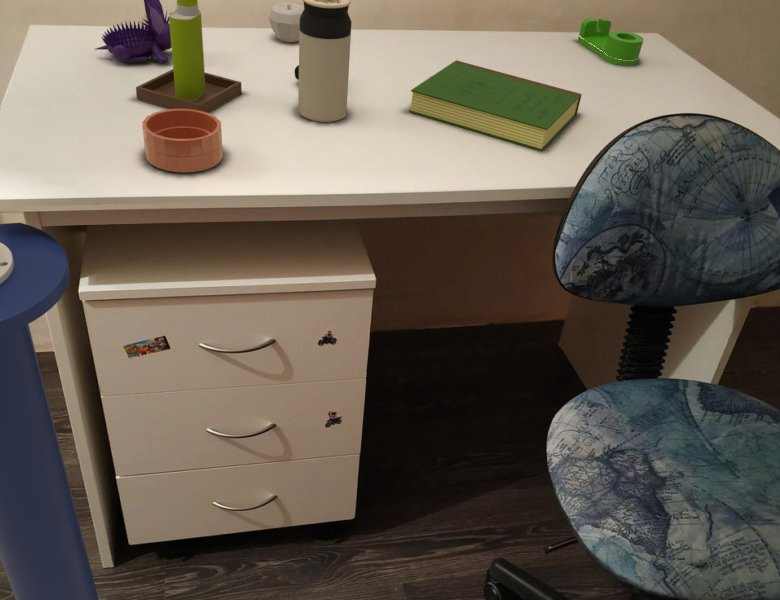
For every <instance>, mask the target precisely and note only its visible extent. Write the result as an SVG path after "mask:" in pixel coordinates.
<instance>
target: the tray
mask: <svg viewBox="0 0 780 600" xmlns="http://www.w3.org/2000/svg"><path fill="white" fill-rule="evenodd" d="M204 72H205V71H204ZM205 89H206V92H205V93H204V94H203V95H202V96H201V97H200V98H198V99H197V100H195V101H188V100H185V99H181V98H178V97H176V95H175V84H174V72H173V68H172V69H170V70H168V71H166V72H164V73H161V74H160V75H158V76H156V77H154V78H152V79H150V80H148V81H146V82H144V83H141V84H139V85H137V86H136V87H135V93H136V100H138V101H141V102H144V103H145V102H146V103H149V104H152V105H155V106H159V107H162V108H166V109H168V110H169V109H193V110H199V111H203V112H206V113H209V114H210V113H211V112H212V111H215V110H217V109H218V108H220V107H221V106H223V105H225V104H227V103H229V102H230V101H232V100H233V99H235V98H237V97H238V96H241V95H242V93H243V92H242V90H243V89H242V81H239V80H235V79H231V78H227V77H224V76H220V75H216V74H213V73H209V72H205Z"/></svg>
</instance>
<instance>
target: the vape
mask: <svg viewBox="0 0 780 600" xmlns="http://www.w3.org/2000/svg"><path fill="white" fill-rule="evenodd" d="M168 17H169V22H168V23H169V24H170V36H171V48H170V49H171V60H172V69H173V72H174V84H175V95H176V97H178V98H181V99H185V100H188V101H195V100H197V99H198V98H200V97H201V96H202V95H203V94H204V93H205V92H206V89H205V59H204V58H205V56H204V40H203V39H204V38H203V25H202V10H199V3H198V0H176V9H175V10H174V11H171V13H169V14H168Z"/></svg>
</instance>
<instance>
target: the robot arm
mask: <svg viewBox="0 0 780 600" xmlns="http://www.w3.org/2000/svg"><path fill="white" fill-rule="evenodd" d="M13 268H14V260H13V256H12V253H11V251H10V250H9V248H8V247H6V246H5V245H4V244H2V243H0V284H2V283H3V282H4V281H5V280H6V279H7V278H8V277H9V276H10V274H11V273H12V271H13Z"/></svg>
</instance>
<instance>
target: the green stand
mask: <svg viewBox="0 0 780 600" xmlns="http://www.w3.org/2000/svg"><path fill="white" fill-rule="evenodd" d="M611 27H612V22H611V21H610V20H609V19H607V18H604V17H603V18H602V17H600V18H598V19H596V18H585V19H583V20H582V22H581V24H580V29H579V33H578V37H577V42H578V43H579V44H580V45H582V46H583V47H585V48H587V49H588V50H590V51H592V52H593V53H595V54H596V55H598V56H599V57H601V58H602V59H603V60H605V61H606V62H608V63H610V64H613V65H617V66H623V67H630V66H631V67H632V66H635V65H637V64H638V61H639V57H640V53H641V50H642V47H643V44H644V38H643V36H641V35H639V34H638V33H634V32H632V31H631V32H630V31H627V30H612V31H611ZM579 35H580V36H581V37H582V38H584V39H585V40H587V41H588V42H590V43H592V44H593V45H595V46H596V47H597V48H599V49H600V50H602V51H603V52H602V51H600V50H599V49H597V48H596V47H594V46H593V45H591V44H589V43H588V42H586V41H585V40H583V39H581V38H580V37H579ZM604 52H605V53H606V54H607V55H608V56H607V55H606V54H605V53H604ZM609 56H611V57H613V58H611V57H609ZM614 58H617V59H614ZM637 58H638V59H637ZM618 59H622V60H618ZM634 59H637V60H634ZM623 60H634V61H623Z"/></svg>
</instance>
